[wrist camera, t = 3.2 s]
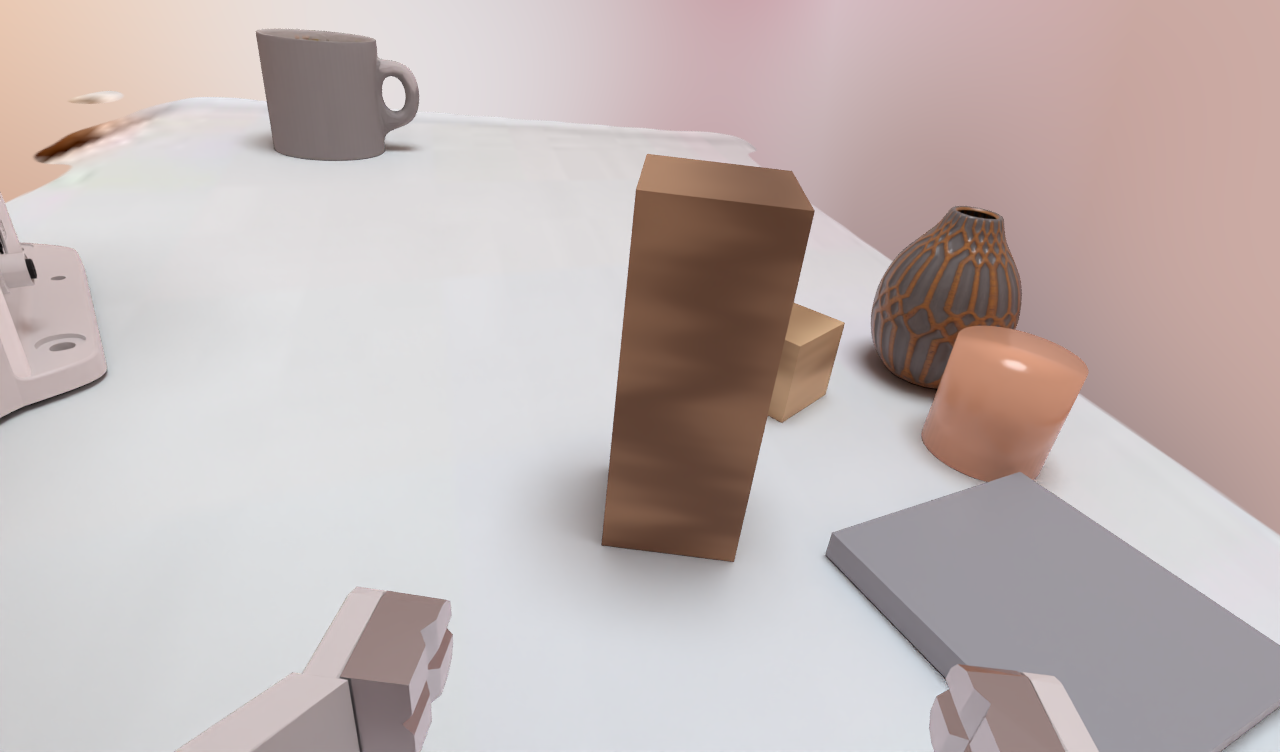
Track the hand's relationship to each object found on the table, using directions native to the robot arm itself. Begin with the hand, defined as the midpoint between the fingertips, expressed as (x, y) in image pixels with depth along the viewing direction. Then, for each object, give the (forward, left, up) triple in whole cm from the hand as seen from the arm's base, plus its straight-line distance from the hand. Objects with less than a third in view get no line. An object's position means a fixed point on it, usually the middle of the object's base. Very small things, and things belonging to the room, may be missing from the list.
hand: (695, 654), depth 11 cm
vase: (-15, +25, -7) cm, 30 cm away
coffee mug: (-68, +2, -7) cm, 69 cm away
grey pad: (-1, +15, -7) cm, 17 cm away
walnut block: (-10, +6, -7) cm, 14 cm away
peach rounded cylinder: (-9, +21, -7) cm, 24 cm away
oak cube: (-16, +15, -7) cm, 23 cm away
